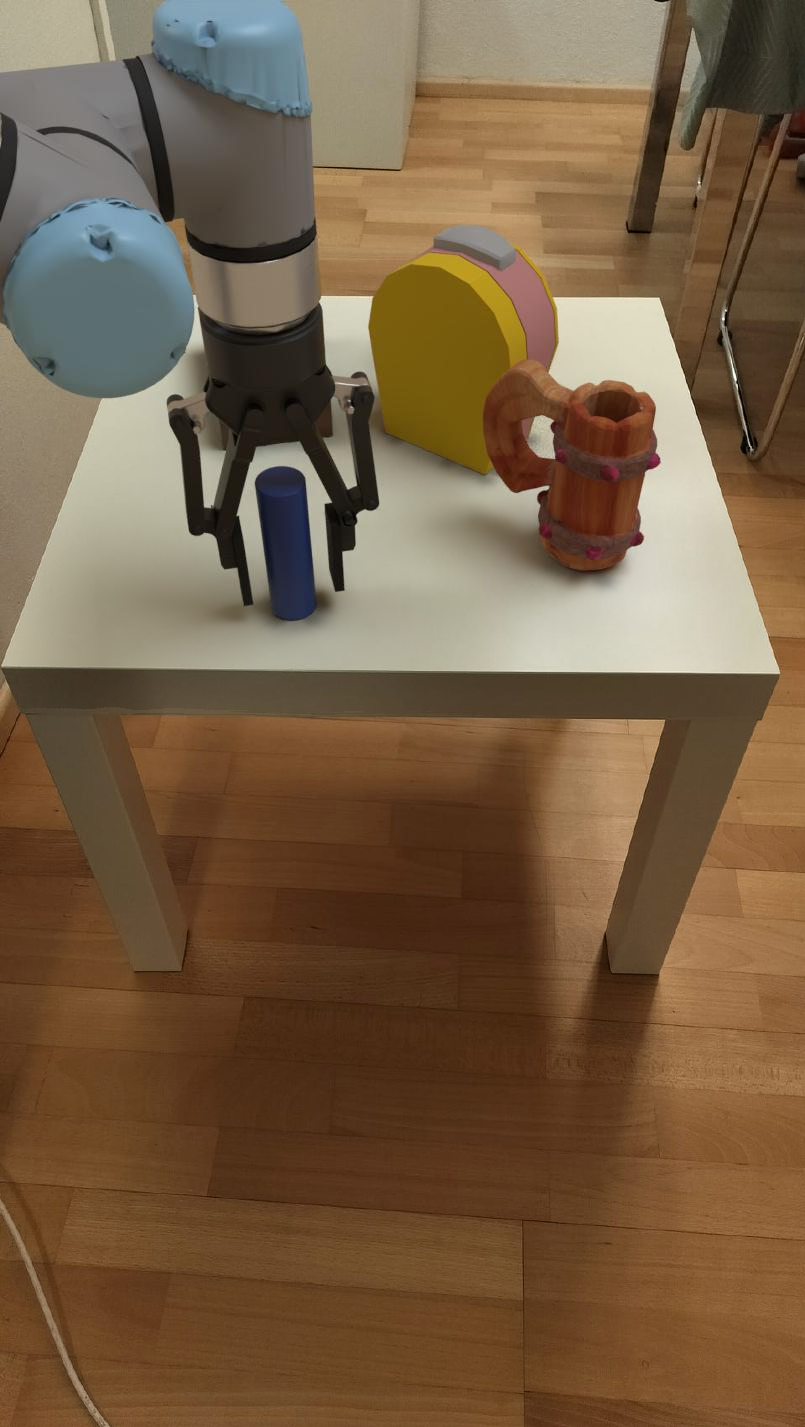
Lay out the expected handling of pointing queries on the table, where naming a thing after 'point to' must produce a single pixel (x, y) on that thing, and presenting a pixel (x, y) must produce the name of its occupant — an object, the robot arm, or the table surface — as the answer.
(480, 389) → the alarm clock
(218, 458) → the table surface
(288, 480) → the blue long cylinder
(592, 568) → the mug
